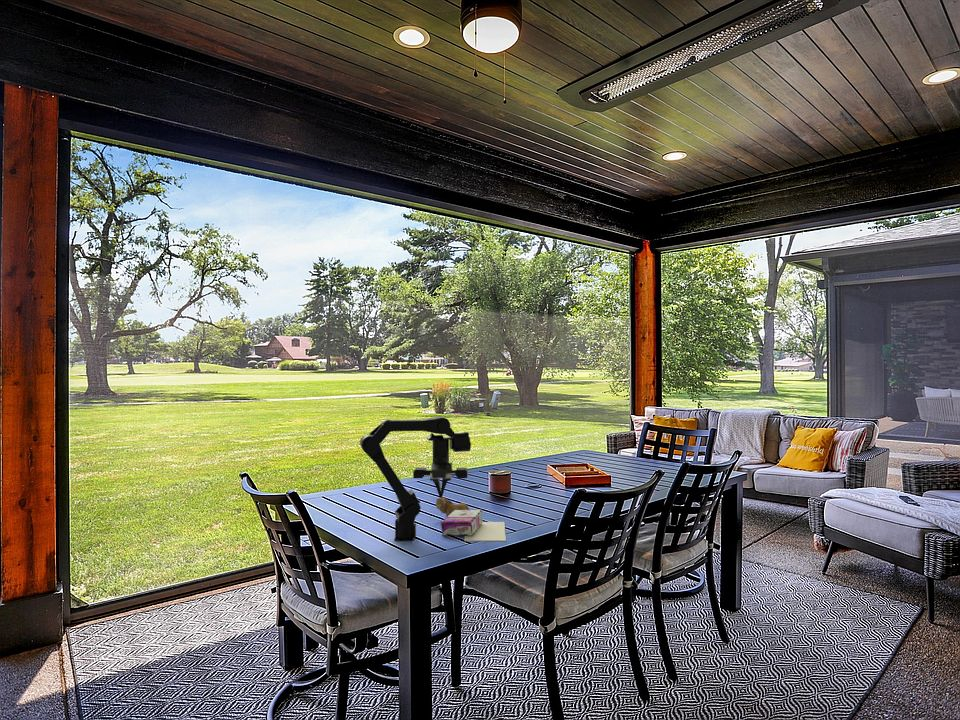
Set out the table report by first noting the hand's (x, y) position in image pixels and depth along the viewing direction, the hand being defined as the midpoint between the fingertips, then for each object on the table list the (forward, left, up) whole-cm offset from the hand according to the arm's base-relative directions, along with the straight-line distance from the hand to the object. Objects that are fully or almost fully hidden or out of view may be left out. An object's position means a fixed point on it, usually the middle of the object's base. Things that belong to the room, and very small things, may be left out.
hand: (440, 497), depth 199 cm
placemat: (+15, +4, -13) cm, 21 cm away
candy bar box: (+5, -2, -10) cm, 12 cm away
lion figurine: (+3, +17, -13) cm, 22 cm away
